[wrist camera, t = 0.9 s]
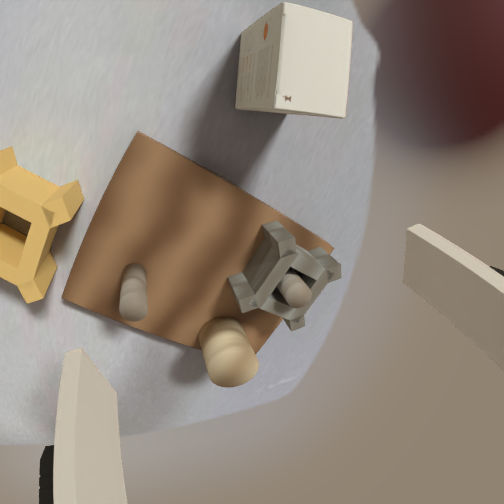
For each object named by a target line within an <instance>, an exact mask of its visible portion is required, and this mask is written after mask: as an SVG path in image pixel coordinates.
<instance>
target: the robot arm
mask: <svg viewBox="0 0 504 504" xmlns="http://www.w3.org/2000/svg"><path fill="white" fill-rule="evenodd" d="M403 283H405V284H406V285H407V286H408V287H409V288H411V289H412V290H413V291H414V292H416V293H417V294H418V295H419V296H420V297H421V298H423V299H424V300H425V301H426V302H427V303H429V304H430V305H431V306H432V307H433V308H434V309H436V310H437V311H438V312H439V313H440V314H442V315H443V316H444V317H445V318H446V319H447V320H449V321H450V322H451V323H452V324H453V325H454V326H455V327H457V328H458V329H459V330H460V331H461V332H462V333H463V334H464V335H466V336H467V337H468V338H469V339H470V340H471V341H472V342H473V343H474V344H476V345H477V346H478V347H479V348H480V349H481V350H482V351H483V352H484V353H485V354H486V355H488V357H490V358H491V359H492V360H493V361H494V362H495V363H496V364H497V365H498V366H499V367H500V368H501V369H502V370H503V371H504V271H502V270H500V269H497V268H494V267H492V266H487V265H486V264H484V263H483V262H481V261H480V260H478V259H477V258H475V257H474V256H472V255H470V254H469V253H467V252H466V251H464V250H463V249H461V248H459V247H458V246H456V245H455V244H453V243H451V242H450V241H448V240H446V239H445V238H443V237H441V236H440V235H438V234H436V233H435V232H433V231H431V230H429V229H428V228H426V227H424V226H423V225H421V224H417V225H415V226H412V227H410V228H407V231H406V250H405V265H404V277H403ZM40 476H41V477H40V478H39V486H40V489H39V504H127V498H126V490H125V483H124V475H123V467H122V458H121V448H120V435H119V421H118V402H117V393H116V391H115V390H114V389H113V388H112V386H111V385H110V384H109V383H108V381H107V380H106V379H105V378H104V376H103V375H102V374H101V372H100V371H99V370H98V368H97V367H96V366H95V364H94V363H93V362H92V360H91V359H90V358H89V356H88V355H87V354H86V352H85V351H84V349H83V348H82V347H81V348H78V349H75V350H72V351H68V352H65V356H64V362H63V368H62V374H61V381H60V389H59V397H58V406H57V415H56V427H55V441H54V445H51V446H45V449H44V451H43V454H42V457H41V459H40Z"/></svg>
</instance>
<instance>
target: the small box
mask: <svg viewBox="0 0 504 504" xmlns="http://www.w3.org/2000/svg"><path fill="white" fill-rule="evenodd" d="M352 27H353V22H352V21H351V20H348V19H345V18H342V17H339V16H335V15H332V14H329V13H326V12H322V11H319V10H315V9H312V8H308V7H304V6H300V5H296V4H292V3H288V2H282V3H280V4H279V5H278V6H276V7H275V8H273V9H272V10H270V11H269V12H268V13H266V14H265V15H264V16H262V17H261V18H260V19H258V20H257V21H256V22H254V23H253V24H252V25H250V26H249V27H248V28H247V29H245V30H244V31H243V32H242V33H241V42H240V53H239V65H238V77H237V90H236V102H235V109H239V110H250V111H261V112H272V113H283V114H296V115H309V116H321V117H331V118H341V119H342V118H345V117H346V107H347V97H348V86H349V73H350V60H351V45H352Z"/></svg>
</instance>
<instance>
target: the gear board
mask: <svg viewBox="0 0 504 504" xmlns="http://www.w3.org/2000/svg"><path fill="white" fill-rule="evenodd" d="M333 249H334V248H333V247H332V246H331V245H330V244H329V243H327V242H326V241H325V240H323V239H322V238H320V237H318V236H317V235H315V234H314V233H312V232H310V231H309V230H307V229H306V228H304V227H303V226H301V225H299V224H298V223H296V222H295V221H293V220H291V219H290V218H288V217H286V216H285V215H283V214H282V213H280V212H278V211H277V210H275V209H273V208H272V207H270V206H268V205H267V204H265V203H264V202H262V201H260V200H259V199H257V198H255V197H254V196H252V195H250V194H249V193H247V192H245V191H243V190H242V189H240V188H238V187H237V186H235V185H233V184H232V183H230V182H228V181H226V180H225V179H223V178H221V177H220V176H218V175H216V174H214V173H213V172H211V171H209V170H207V169H206V168H204V167H202V166H200V165H199V164H197V163H195V162H193V161H192V160H190V159H188V158H186V157H185V156H183V155H181V154H179V153H177V152H176V151H174V150H172V149H170V148H168V147H167V146H165V145H163V144H161V143H159V142H157V141H156V140H154V139H152V138H150V137H148V136H146V135H145V134H143V133H141V132H139V131H137V133H136V135H135V136H134V138H133V140H132V142H131V143H130V145H129V147H128V149H127V151H126V152H125V154H124V156H123V158H122V160H121V162H120V164H119V165H118V167H117V169H116V171H115V173H114V175H113V177H112V179H111V181H110V183H109V185H108V187H107V189H106V191H105V193H104V195H103V197H102V199H101V201H100V204H99V206H98V208H97V210H96V212H95V214H94V217H93V219H92V221H91V223H90V225H89V228H88V230H87V232H86V235H85V237H84V239H83V242H82V244H81V247H80V249H79V252H78V254H77V257H76V259H75V262H74V264H73V267H72V270H71V272H70V275H69V278H68V280H67V283H66V286H65V289H64V292H63V295H62V298H63V299H65V300H68V301H70V302H72V303H75V304H77V305H79V306H82V307H84V308H86V309H89V310H91V311H94V312H96V313H99V314H101V315H104V316H106V317H109V318H111V319H114V320H116V321H119V322H121V323H124V324H127V325H129V326H132V327H135V328H137V329H140V330H143V331H146V332H149V333H151V334H154V335H157V336H160V337H163V338H166V339H169V340H172V341H175V342H178V343H181V344H184V345H187V346H190V347H193V348H197V349H200V350H202V352H203V356H204V360H205V363H206V367H207V370H208V374H209V377H210V379H211V381H212V382H213V383H214V384H216V385H218V386H221V387H235V386H239V385H242V384H244V383H246V382H248V381H249V380H251V379H252V378H253V377H254V376H255V374H256V373H257V371H258V368H259V362H258V360H257V357H256V353H257V352H258V351H259V350H260V348H261V347H262V346H263V344H264V343H265V342H266V341H267V339H268V338H269V337H270V335H271V334H272V333H273V332H274V330H275V329H276V328H277V326H278V325H279V324H280V322H281V321H282V320H283V319H284V321H285V322H286V324H287V325H288V327H289V329H290V330H291V331H293V330H296V329H299V328H301V327H304V326H305V321H304V314H305V313H306V312H307V310H308V309H309V308H310V306H311V305H312V304H313V302H314V301H315V300H316V298H317V297H318V296H319V294H320V293H321V291H322V290H323V289H324V287H325V286H326V285H327V283H329V282H332V281H334V280H337V279H340V278H341V264H339V263H338V262H337V261H336V260H335V259H334V258H333V257H332V256H330V254H331V252H332V251H333Z"/></svg>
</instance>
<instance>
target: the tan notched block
mask: <svg viewBox="0 0 504 504" xmlns="http://www.w3.org/2000/svg"><path fill="white" fill-rule="evenodd" d="M83 200H84V197H83V194H82V191H81V188H80V185H79V182H78V180H76V181H74V182H71V183H68V184H66V185H63V186H61V187H59V186H57V185H55V184H53V183H51V182H49V181H47V180H45V179H43V178H41V177H39V176H37V175H35V174H33V173H31V172H29V171H28V170H26V169H24V168H22V167H20V166H18V165H17V161H16V158H15V155H14V151H13V148H12V147H9V148H7V149H4V150H1V151H0V277H1V278H3V279H5V280H7V281H9V282H11V283H13V284H15V285H17V287H18V289H19V290H20V292H21V294H22V296H23V298H24V299H25V301H26V303H27V304H28V303H31V302H34V301H37V300H40V299H43V298H44V296H45V293H46V291H47V289H48V286H49V284H50V282H51V280H52V278H53V275H54V273H55V271H56V269H57V265H56V263H55V261H54V259H53V256H52V254H51V252H50V248H51V245H52V242H53V240H54V237H55V234H56V231H57V229H58V226H59V225H60V224H63V223H65V222H68V221H71V219H72V217H73V216H74V214H75V213H76V211H77V210H78V208H79V207H80V205H81V203H82V202H83ZM5 209H6V210H8V211H10V212H11V213H13V214H15V215H17V216H19V217H21V218H23V219H25V220H27V221H29V222H31V226H30V229H29V232H28V236H25V235H24V234H22V233H20V232H18V231H16V230H14V229H12V228H10V227H8V226H6V225H4V224H2V220H3V216H4V213H5Z"/></svg>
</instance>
